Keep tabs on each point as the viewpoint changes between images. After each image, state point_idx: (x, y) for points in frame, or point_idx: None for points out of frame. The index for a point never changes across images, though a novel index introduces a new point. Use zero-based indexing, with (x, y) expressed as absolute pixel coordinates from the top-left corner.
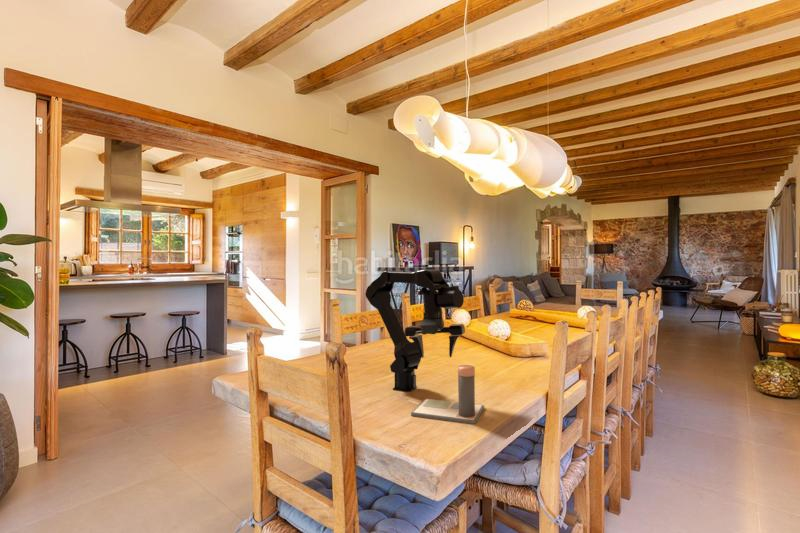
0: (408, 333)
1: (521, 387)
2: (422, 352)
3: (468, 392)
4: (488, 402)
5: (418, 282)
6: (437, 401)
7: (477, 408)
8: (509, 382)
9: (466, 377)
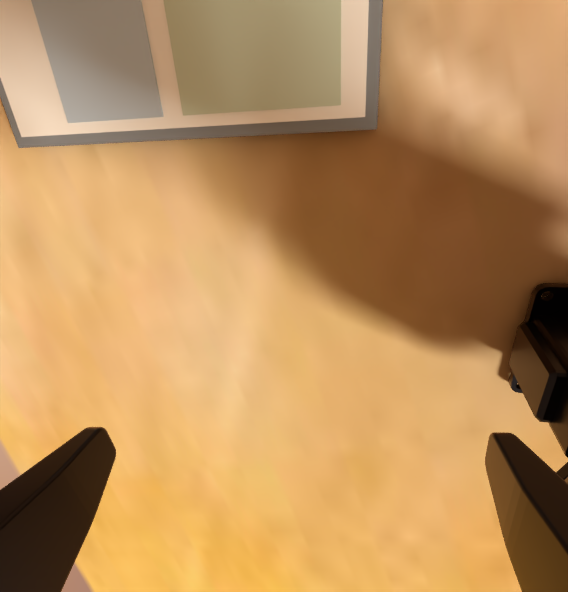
0: None
1: None
2: (523, 512)
3: None
4: (66, 249)
5: None
6: (270, 85)
7: (8, 63)
8: (120, 490)
9: None
